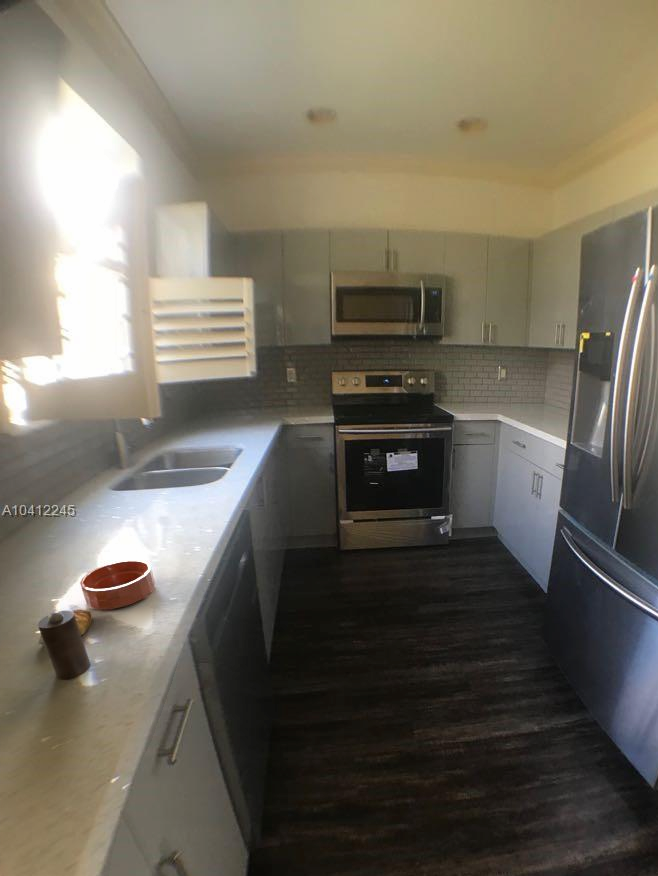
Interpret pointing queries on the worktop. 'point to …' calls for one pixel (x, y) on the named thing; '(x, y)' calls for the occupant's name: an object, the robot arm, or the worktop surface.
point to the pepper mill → (64, 644)
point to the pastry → (82, 621)
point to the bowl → (118, 584)
